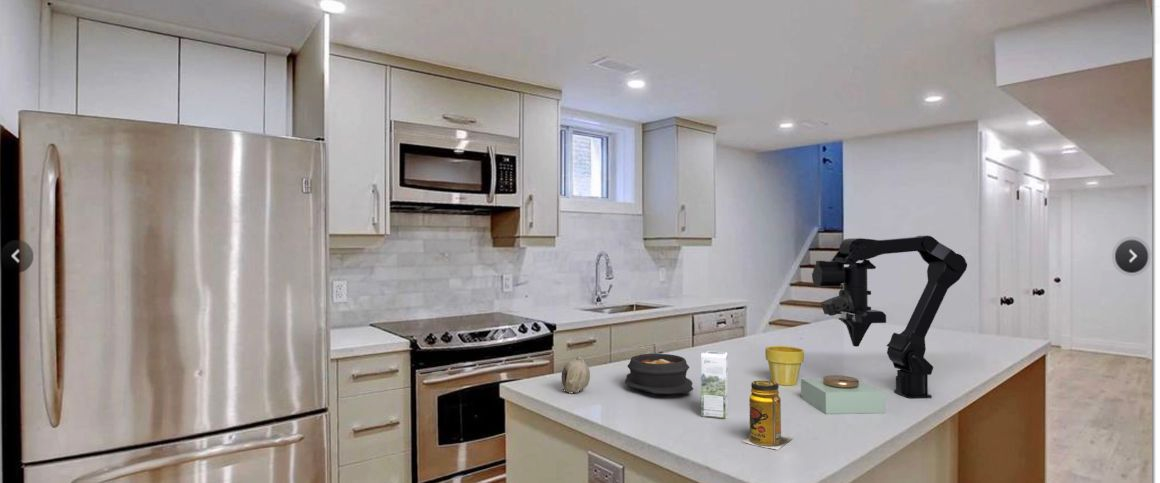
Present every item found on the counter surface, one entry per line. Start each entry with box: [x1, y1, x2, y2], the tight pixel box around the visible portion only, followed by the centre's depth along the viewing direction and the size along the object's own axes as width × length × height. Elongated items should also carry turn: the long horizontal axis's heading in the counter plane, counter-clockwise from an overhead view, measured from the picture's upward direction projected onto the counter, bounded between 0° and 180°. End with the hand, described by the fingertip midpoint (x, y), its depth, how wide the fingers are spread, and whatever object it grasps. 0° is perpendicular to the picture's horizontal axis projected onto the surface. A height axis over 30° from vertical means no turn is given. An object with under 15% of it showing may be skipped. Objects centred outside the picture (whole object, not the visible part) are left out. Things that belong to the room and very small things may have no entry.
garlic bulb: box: [561, 356, 591, 394], centre depth 158 cm, size 9×8×10 cm
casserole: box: [624, 353, 694, 395], centre depth 160 cm, size 25×19×8 cm
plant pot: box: [765, 345, 805, 386], centre depth 165 cm, size 10×10×10 cm
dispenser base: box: [800, 377, 886, 415], centre depth 143 cm, size 14×14×5 cm
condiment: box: [742, 379, 793, 451], centre depth 118 cm, size 7×8×12 cm
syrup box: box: [700, 350, 729, 419], centre depth 135 cm, size 6×6×14 cm
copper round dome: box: [822, 374, 860, 388], centre depth 143 cm, size 8×8×5 cm
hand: (855, 346), depth 151 cm, fingers closed
